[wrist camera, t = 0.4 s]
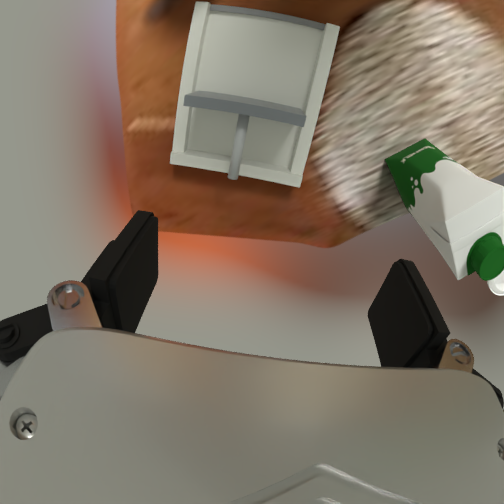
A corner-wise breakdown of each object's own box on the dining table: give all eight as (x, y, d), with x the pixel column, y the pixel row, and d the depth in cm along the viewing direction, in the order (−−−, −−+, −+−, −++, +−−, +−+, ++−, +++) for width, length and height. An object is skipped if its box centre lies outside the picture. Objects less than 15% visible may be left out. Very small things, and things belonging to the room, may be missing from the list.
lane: (200, 5, 27) (194, 0, 24) (335, 29, 27) (341, 25, 25) (176, 156, 38) (169, 163, 36) (297, 179, 39) (299, 187, 37)
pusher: (199, 90, 32) (184, 94, 27) (300, 108, 33) (306, 116, 28) (189, 159, 37) (175, 176, 32) (283, 176, 38) (285, 196, 33)
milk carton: (399, 207, 40) (461, 300, 24) (376, 155, 36) (448, 231, 20) (445, 182, 37) (524, 260, 21) (427, 128, 33) (521, 187, 17)
